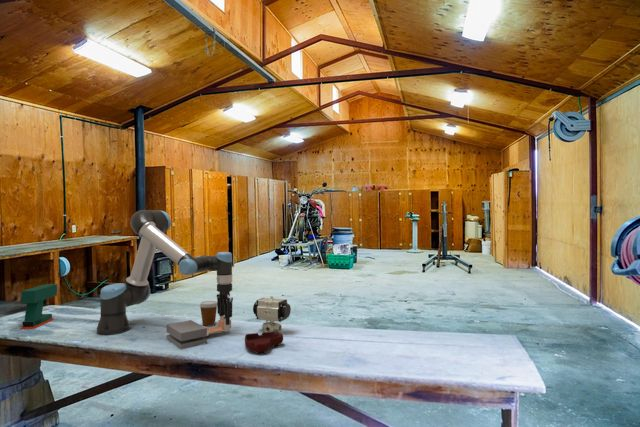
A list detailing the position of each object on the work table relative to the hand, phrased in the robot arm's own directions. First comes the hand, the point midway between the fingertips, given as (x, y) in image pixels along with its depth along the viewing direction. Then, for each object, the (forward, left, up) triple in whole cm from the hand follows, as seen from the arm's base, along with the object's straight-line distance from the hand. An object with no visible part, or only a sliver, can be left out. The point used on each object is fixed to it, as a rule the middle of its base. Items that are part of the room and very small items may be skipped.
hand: (224, 329), depth 199 cm
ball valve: (+14, +19, -2) cm, 23 cm away
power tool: (-89, -67, -2) cm, 111 cm away
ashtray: (+30, +2, -2) cm, 30 cm away
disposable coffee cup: (-20, +1, -2) cm, 20 cm away
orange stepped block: (0, -6, +1) cm, 6 cm away
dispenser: (0, -19, -2) cm, 19 cm away
